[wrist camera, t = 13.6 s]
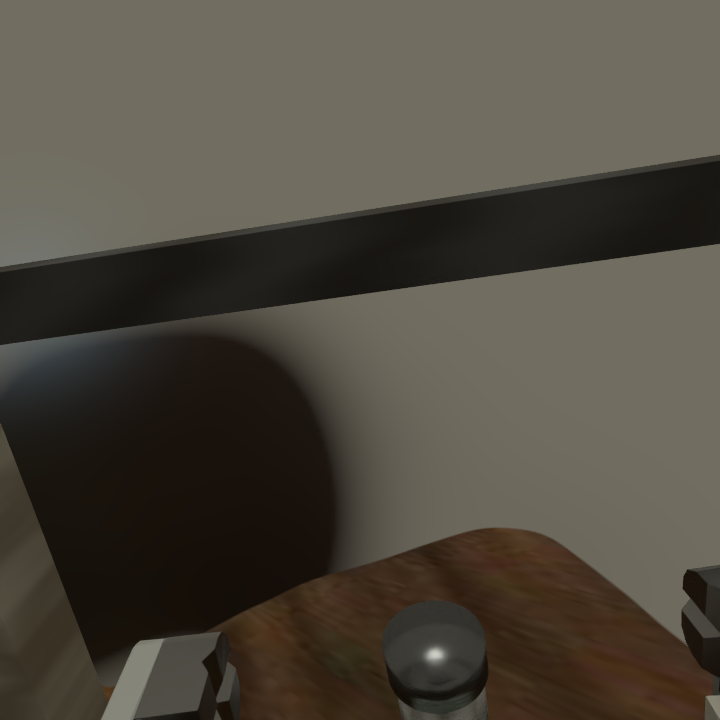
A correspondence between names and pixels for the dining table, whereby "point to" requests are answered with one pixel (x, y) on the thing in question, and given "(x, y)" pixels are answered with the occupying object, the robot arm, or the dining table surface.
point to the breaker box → (713, 702)
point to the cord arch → (289, 286)
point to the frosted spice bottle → (437, 662)
